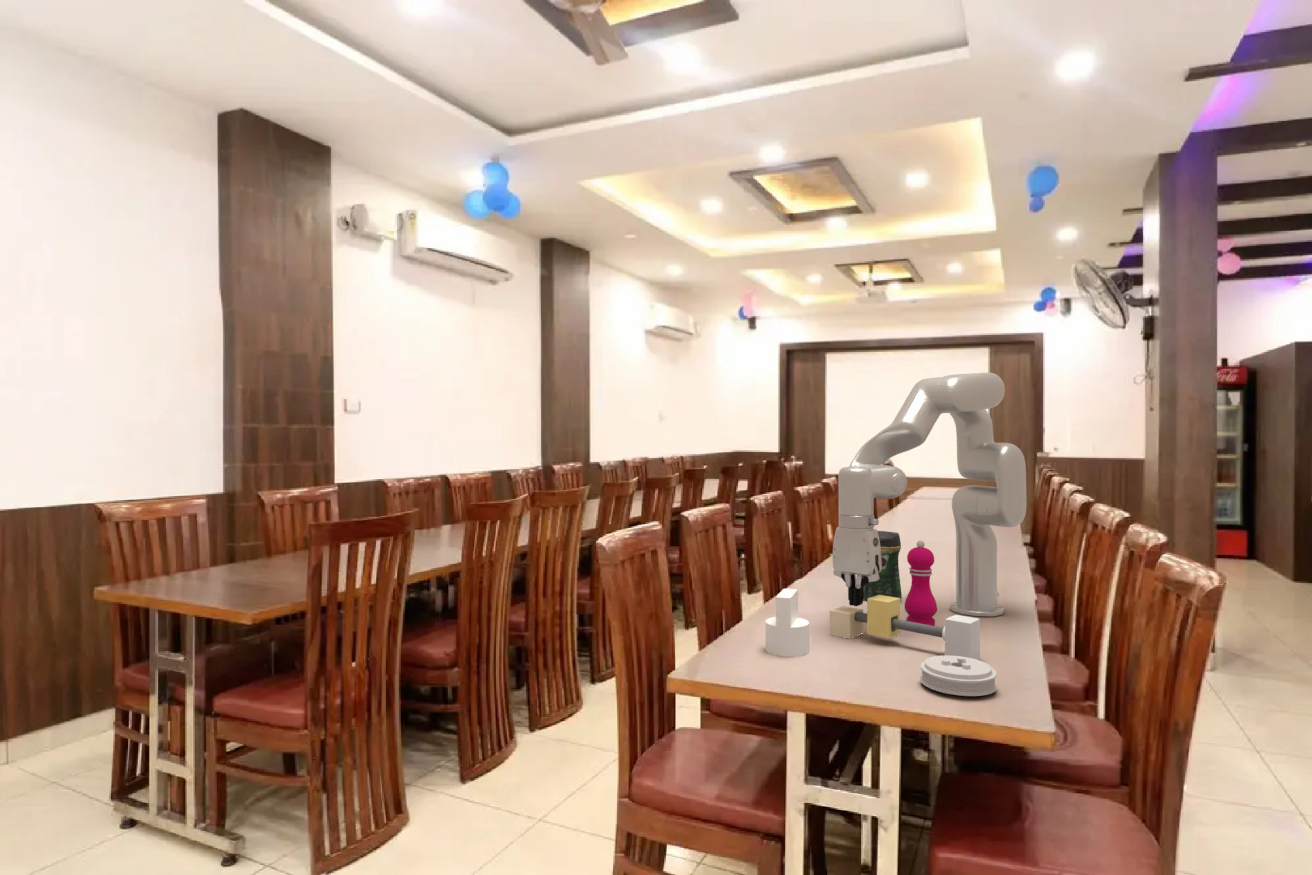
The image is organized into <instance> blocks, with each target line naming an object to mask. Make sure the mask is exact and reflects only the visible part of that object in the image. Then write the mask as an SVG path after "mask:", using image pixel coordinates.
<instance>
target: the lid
mask: <svg viewBox="0 0 1312 875" xmlns="http://www.w3.org/2000/svg"><path fill="white" fill-rule="evenodd" d="M919 668H920V670H921V676H920V682H921V684H922V685H924V686H925V687H927V688H928V689H931V690H934V691H936V692H940V693H942V694H948V695H953V696H954V695H955V696H962V697H963V696H964V697H979V696H980V697H981V696H987V695H990V694H994V693H995V692H996V691H997V688H998V687H997V684H996V682H995V680H996V678H997V676H998V674H997V671H996V670H995V669H994V668H992V666H991V665H990V664H988V663H986V662H985V661H982V660H980V659H978V660H976V659H973V658H968V657H962V656H949V655H945V654H944V655H935V656H930V657H928V658H926V659H925V660H924V661H922V662H921V663H920V667H919Z"/></svg>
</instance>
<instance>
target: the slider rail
mask: <svg viewBox="0 0 1312 875" xmlns="http://www.w3.org/2000/svg"><path fill="white" fill-rule="evenodd" d="M864 623H865V624H867V612H866V613H865V612H864V609H862V608H859V607H858V608H857V607H853V606H845V605H842V606H839V607H837V608H833V609H830V610H829V635H830V634H831V635H830V636H832V635H835V636H834V637H837V636H839V637H838V638H841V637H845V638H844V639H846V638H849V639H848V640H851V639H850V638H852V637H854V638H857V637H858V636H857V635H859V634H861V633H863V634H864ZM891 628H895V629H900V631H901V630H902V631H905V632H906V631H907V632H911V633H916V634H922V635H927V636H931V637H937V638H942V640H943V641H944V655H949V656H962V657H968V658H973V659H976V660H980V659H981V619H980V618H979V617H978V618H977V617H971V616H967V615H965V616H964V615H959V614H954V615H952V616H949V617H947V618H945V619H944V627H942V626H936V625H935V626H931V625H926V624H920V623H915V622H909V621H907V620H903V619H900V620H899V619H893V618H891ZM856 636H857V637H856ZM859 636H860V635H859ZM852 639H853V638H852Z"/></svg>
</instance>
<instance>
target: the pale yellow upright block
mask: <svg viewBox="0 0 1312 875" xmlns="http://www.w3.org/2000/svg"><path fill="white" fill-rule="evenodd" d="M866 603H867V608H866V611H867V612H866V614H867V623H866V624H867V625H866V627H867V628H866V629H867V630H866V631H867V632H866V633H867V635H872V636H876V637H881V638H887V639H890V638H892V637H895V636H897V635H899V634H900V635H901V630H900V629H895V628H891V618H893V619H899V620H901V600H900V598H896V597H890V596H883V595H877V596H874V597H871V598H868V599H867V600H866Z"/></svg>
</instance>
